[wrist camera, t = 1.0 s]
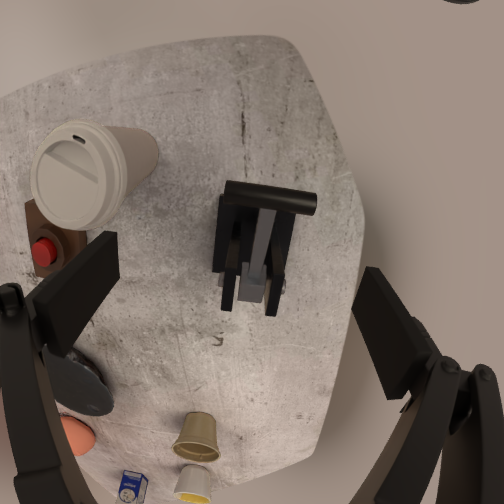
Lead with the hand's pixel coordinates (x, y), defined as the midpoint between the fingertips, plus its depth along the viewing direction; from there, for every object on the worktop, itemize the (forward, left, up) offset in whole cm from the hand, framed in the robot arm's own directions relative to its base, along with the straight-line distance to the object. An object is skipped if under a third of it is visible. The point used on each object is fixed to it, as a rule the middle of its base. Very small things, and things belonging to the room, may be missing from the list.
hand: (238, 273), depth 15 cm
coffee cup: (-2, -14, -22) cm, 26 cm away
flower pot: (+48, -4, -22) cm, 52 cm away
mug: (+79, -5, -22) cm, 82 cm away
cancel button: (+11, -27, -18) cm, 34 cm away
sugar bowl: (+68, -39, -22) cm, 81 cm away
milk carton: (+97, -26, -22) cm, 102 cm away
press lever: (+2, +1, -9) cm, 10 cm away
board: (+40, -31, -22) cm, 54 cm away
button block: (+11, -27, -21) cm, 36 cm away
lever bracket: (+7, +1, -21) cm, 22 cm away
